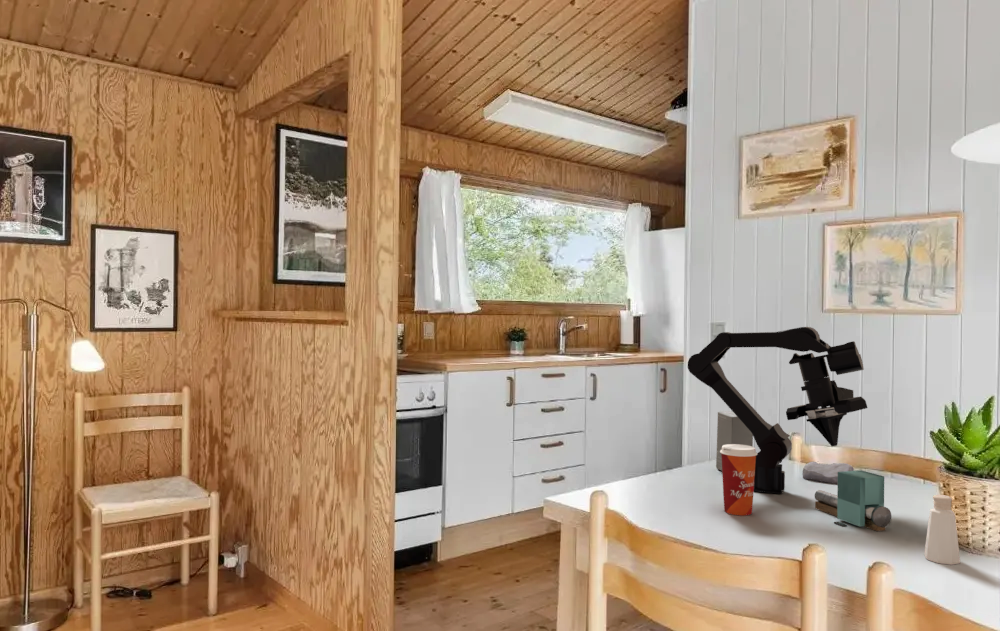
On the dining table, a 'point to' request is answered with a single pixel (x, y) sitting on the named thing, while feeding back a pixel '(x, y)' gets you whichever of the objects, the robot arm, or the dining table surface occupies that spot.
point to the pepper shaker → (942, 533)
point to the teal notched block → (858, 495)
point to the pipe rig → (873, 516)
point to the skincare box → (731, 433)
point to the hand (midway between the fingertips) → (834, 445)
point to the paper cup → (738, 478)
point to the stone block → (825, 471)
